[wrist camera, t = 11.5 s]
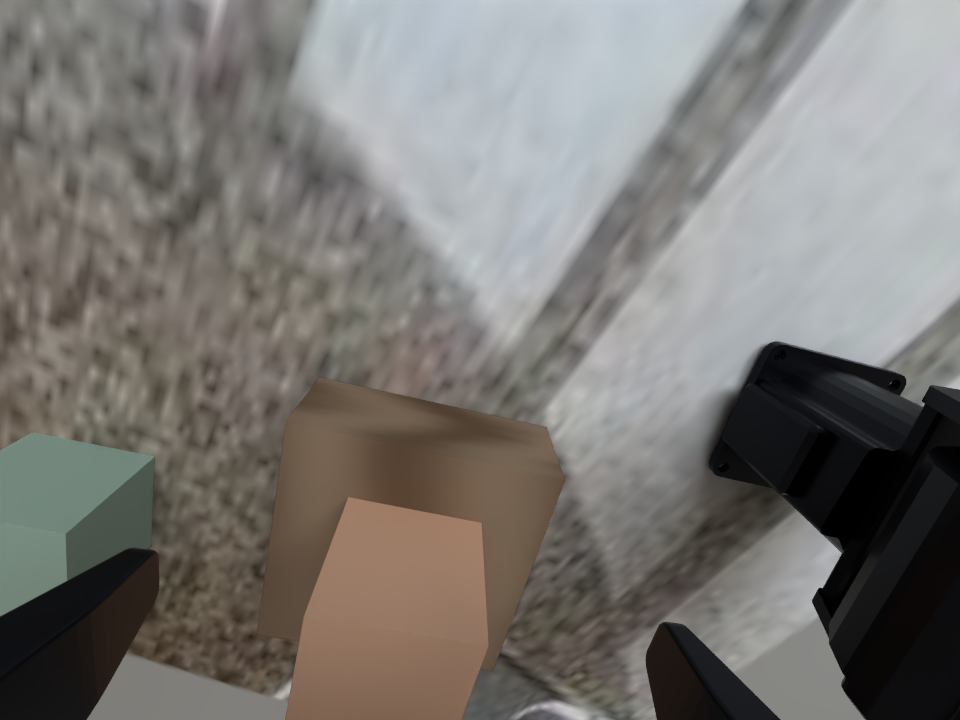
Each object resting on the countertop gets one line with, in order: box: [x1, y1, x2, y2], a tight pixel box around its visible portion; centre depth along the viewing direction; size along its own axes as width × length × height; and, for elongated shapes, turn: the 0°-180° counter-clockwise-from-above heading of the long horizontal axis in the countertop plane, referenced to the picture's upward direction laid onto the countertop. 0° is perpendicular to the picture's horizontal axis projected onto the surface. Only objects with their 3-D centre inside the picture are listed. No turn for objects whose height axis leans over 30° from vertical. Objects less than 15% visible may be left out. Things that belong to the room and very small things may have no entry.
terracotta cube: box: [285, 497, 489, 720], centre depth 16 cm, size 5×5×5 cm
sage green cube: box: [0, 432, 155, 616], centre depth 19 cm, size 5×5×5 cm
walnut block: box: [257, 377, 565, 671], centre depth 20 cm, size 10×10×4 cm
